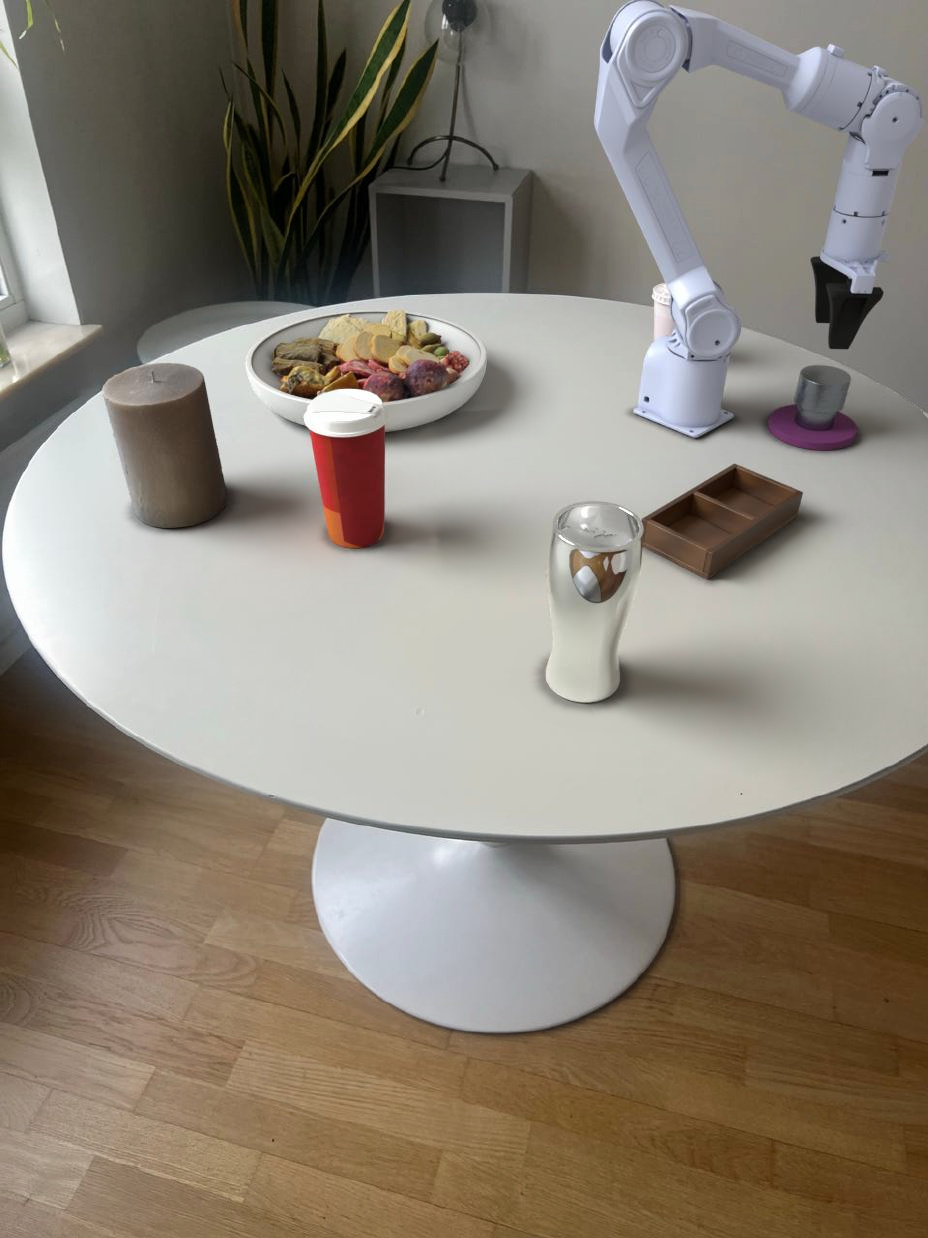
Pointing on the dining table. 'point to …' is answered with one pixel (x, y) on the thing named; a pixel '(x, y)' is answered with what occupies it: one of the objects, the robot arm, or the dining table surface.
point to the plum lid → (794, 435)
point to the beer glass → (591, 596)
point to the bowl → (369, 364)
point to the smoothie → (662, 312)
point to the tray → (720, 520)
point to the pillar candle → (166, 444)
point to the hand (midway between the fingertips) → (831, 334)
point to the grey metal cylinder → (820, 396)
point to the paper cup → (350, 463)
